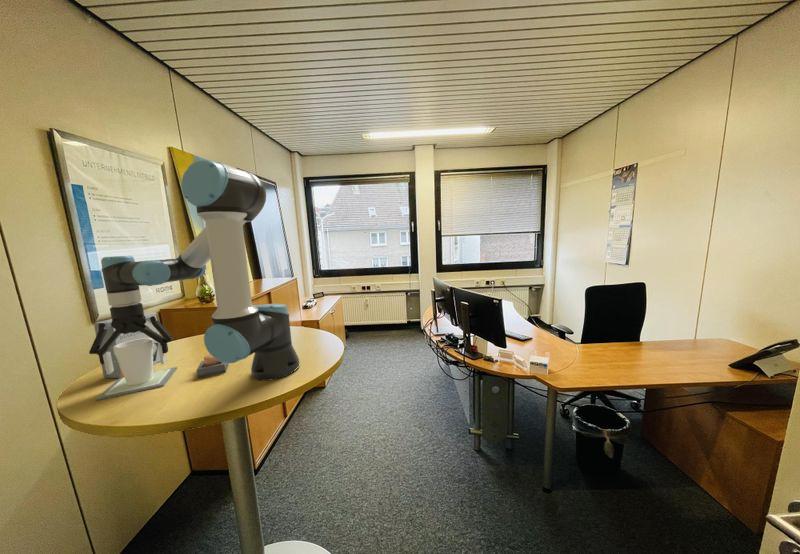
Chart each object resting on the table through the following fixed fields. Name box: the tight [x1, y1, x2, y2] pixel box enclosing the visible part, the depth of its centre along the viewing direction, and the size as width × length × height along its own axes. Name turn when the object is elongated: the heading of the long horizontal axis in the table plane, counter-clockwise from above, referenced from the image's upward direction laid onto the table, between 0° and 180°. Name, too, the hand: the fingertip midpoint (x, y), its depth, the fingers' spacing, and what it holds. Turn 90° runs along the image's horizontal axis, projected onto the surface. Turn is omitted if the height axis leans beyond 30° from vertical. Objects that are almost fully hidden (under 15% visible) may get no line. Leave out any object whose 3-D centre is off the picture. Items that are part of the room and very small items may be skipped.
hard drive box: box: [93, 311, 161, 379], centre depth 104 cm, size 16×8×20 cm, turn 171°
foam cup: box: [113, 338, 154, 386], centre depth 92 cm, size 10×9×13 cm
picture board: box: [94, 366, 178, 401], centre depth 93 cm, size 15×16×1 cm
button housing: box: [196, 360, 229, 379], centre depth 99 cm, size 8×8×3 cm
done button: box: [203, 353, 221, 367], centre depth 98 cm, size 5×5×3 cm
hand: (137, 367), depth 92 cm, fingers open, 13 cm apart
